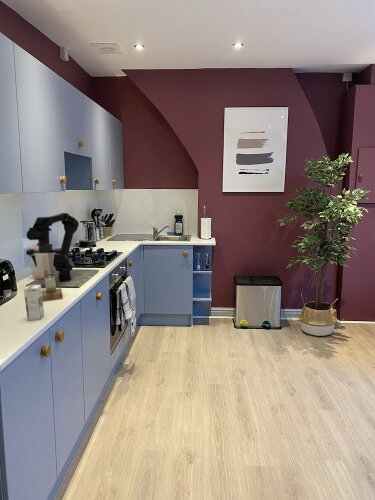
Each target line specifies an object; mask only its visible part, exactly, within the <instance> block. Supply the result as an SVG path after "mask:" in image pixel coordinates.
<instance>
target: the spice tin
mask: <svg viewBox="0 0 375 500" xmlns="http://www.w3.org/2000/svg"><path fill="white" fill-rule="evenodd" d="M44 278H45V280H44V284H45V285H44V287H45V290H46V293H55V292H56V289H57V285H56V278H55V274H47V275H44Z"/></svg>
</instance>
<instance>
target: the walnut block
mask: <svg viewBox="0 0 375 500" xmlns="http://www.w3.org/2000/svg"><path fill="white" fill-rule="evenodd" d="M41 291H42V300H43V303H44V302H47V301H49V302H50V301H56V300H63V291H62V288H61V287H59V288H56V292H55V293H46V289H45V290H41Z"/></svg>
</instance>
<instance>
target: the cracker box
mask: <svg viewBox="0 0 375 500" xmlns="http://www.w3.org/2000/svg"><path fill="white" fill-rule="evenodd" d="M28 249H34V250H39V246H36V245H31V246H29V247H28ZM52 250H54V246H53V245H52ZM54 254H55V253H35V254H34V255H35V257H36V263H37V267H36V266H35V263H34V261H33V259H32V257H31V256H29V259H30V260H29V261H30V266H31V267H30V268H31V276H32V280H35V281H36V280H38V281H39V280H40V281H42V280H43V281H45V278H44V275H47V274H55V279H57V271H56V269H55V266H53V261H54Z"/></svg>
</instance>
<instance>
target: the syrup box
mask: <svg viewBox="0 0 375 500" xmlns="http://www.w3.org/2000/svg"><path fill="white" fill-rule="evenodd" d="M42 291H43V290H42V285H41V284H31V285H27V286H26V287H24V288H23V295H24V303H25V310H26V311H25V312H26V318H27V321H37V320H39V321H40V320H42V318H43V317H44V316H45V312H44V302H43V300H42Z"/></svg>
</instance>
